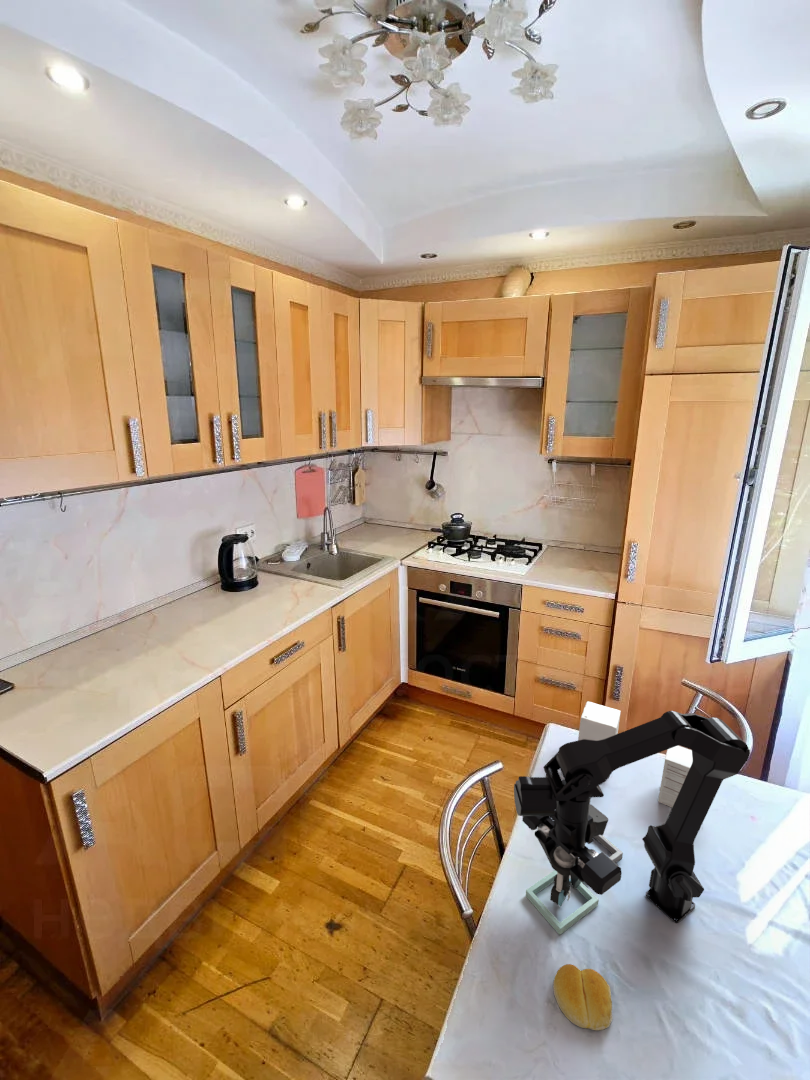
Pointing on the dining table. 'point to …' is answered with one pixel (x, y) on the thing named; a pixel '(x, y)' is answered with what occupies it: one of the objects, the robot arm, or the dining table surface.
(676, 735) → the robot arm
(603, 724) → the supplement box
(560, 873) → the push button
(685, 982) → the dining table surface
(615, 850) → the grey rectangular frame
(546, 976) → the dining table surface
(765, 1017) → the dining table surface
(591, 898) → the mint green frame
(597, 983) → the bread roll
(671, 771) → the supplement box
